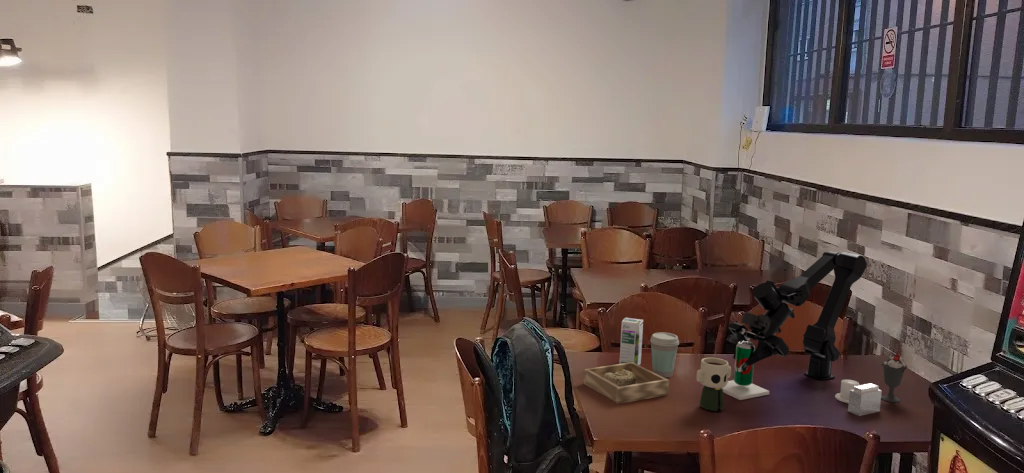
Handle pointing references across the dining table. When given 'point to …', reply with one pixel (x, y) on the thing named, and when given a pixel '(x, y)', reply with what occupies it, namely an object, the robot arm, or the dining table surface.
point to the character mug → (713, 382)
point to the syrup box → (631, 341)
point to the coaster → (744, 390)
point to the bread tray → (643, 389)
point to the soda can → (743, 363)
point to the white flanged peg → (846, 390)
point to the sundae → (893, 375)
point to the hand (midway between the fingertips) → (741, 361)
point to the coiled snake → (621, 377)
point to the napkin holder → (864, 399)
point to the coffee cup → (664, 353)
